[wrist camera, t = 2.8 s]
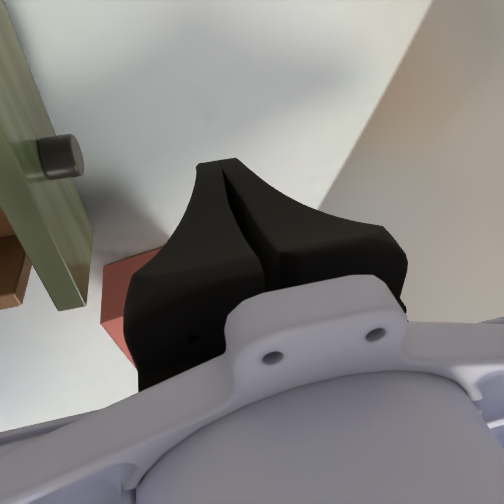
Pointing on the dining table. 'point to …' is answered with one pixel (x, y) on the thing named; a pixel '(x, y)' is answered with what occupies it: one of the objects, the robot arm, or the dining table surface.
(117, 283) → the block
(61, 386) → the dining table surface
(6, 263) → the drawer
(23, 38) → the dining table surface
